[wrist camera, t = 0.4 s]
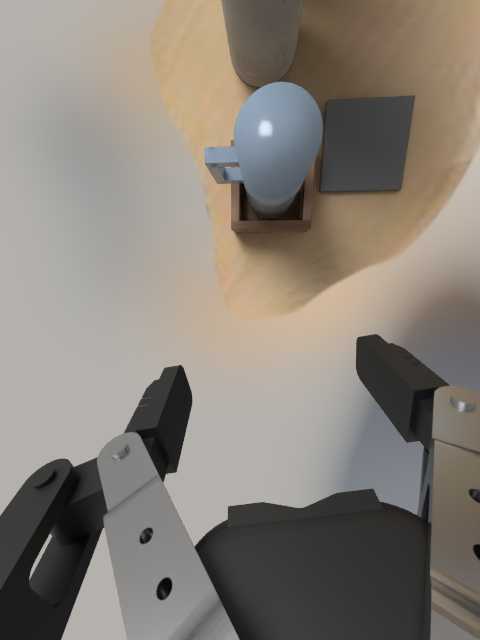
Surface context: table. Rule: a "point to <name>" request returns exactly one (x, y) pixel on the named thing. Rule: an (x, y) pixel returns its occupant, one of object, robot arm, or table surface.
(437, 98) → the table surface
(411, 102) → the mat
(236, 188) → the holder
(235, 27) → the thermos bottle
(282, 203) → the jug
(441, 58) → the table surface
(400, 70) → the table surface
